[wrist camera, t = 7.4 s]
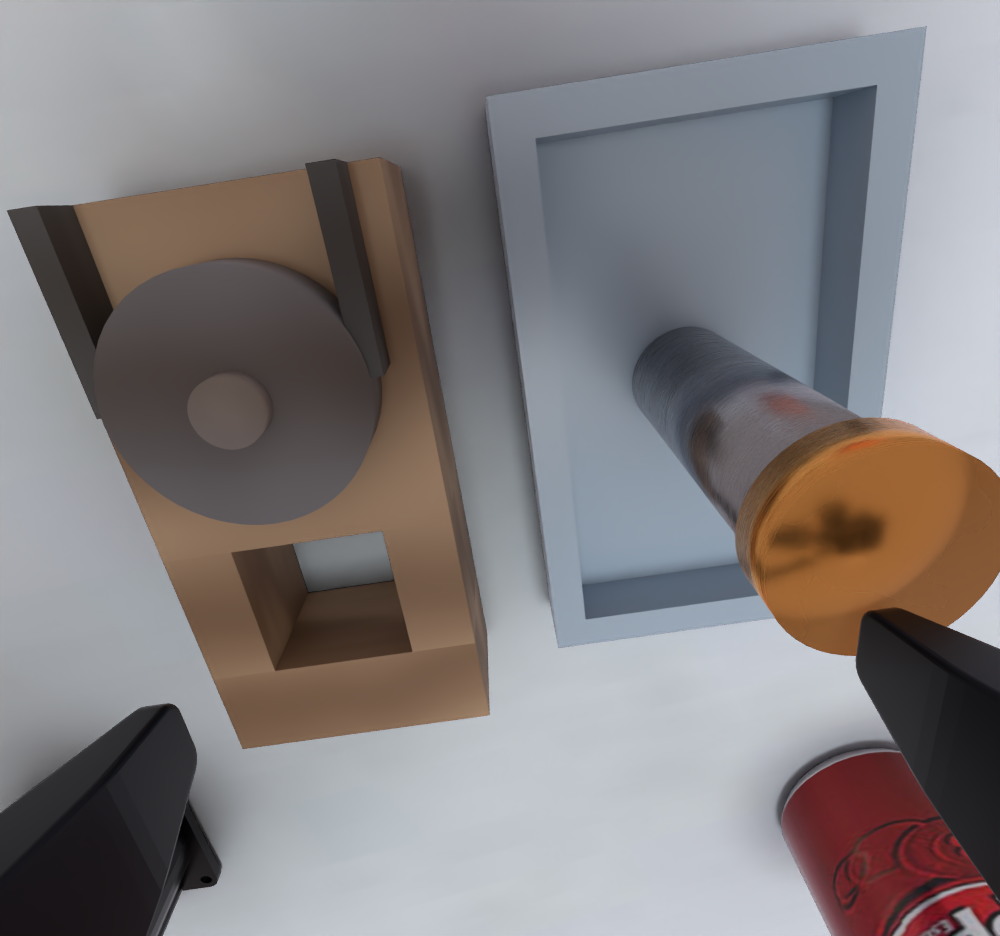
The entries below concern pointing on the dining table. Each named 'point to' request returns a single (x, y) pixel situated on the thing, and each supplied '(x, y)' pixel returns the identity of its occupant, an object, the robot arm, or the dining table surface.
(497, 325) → the dining table surface
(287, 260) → the tensioner block
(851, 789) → the soda can
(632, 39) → the dining table surface
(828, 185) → the tray
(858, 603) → the pin
